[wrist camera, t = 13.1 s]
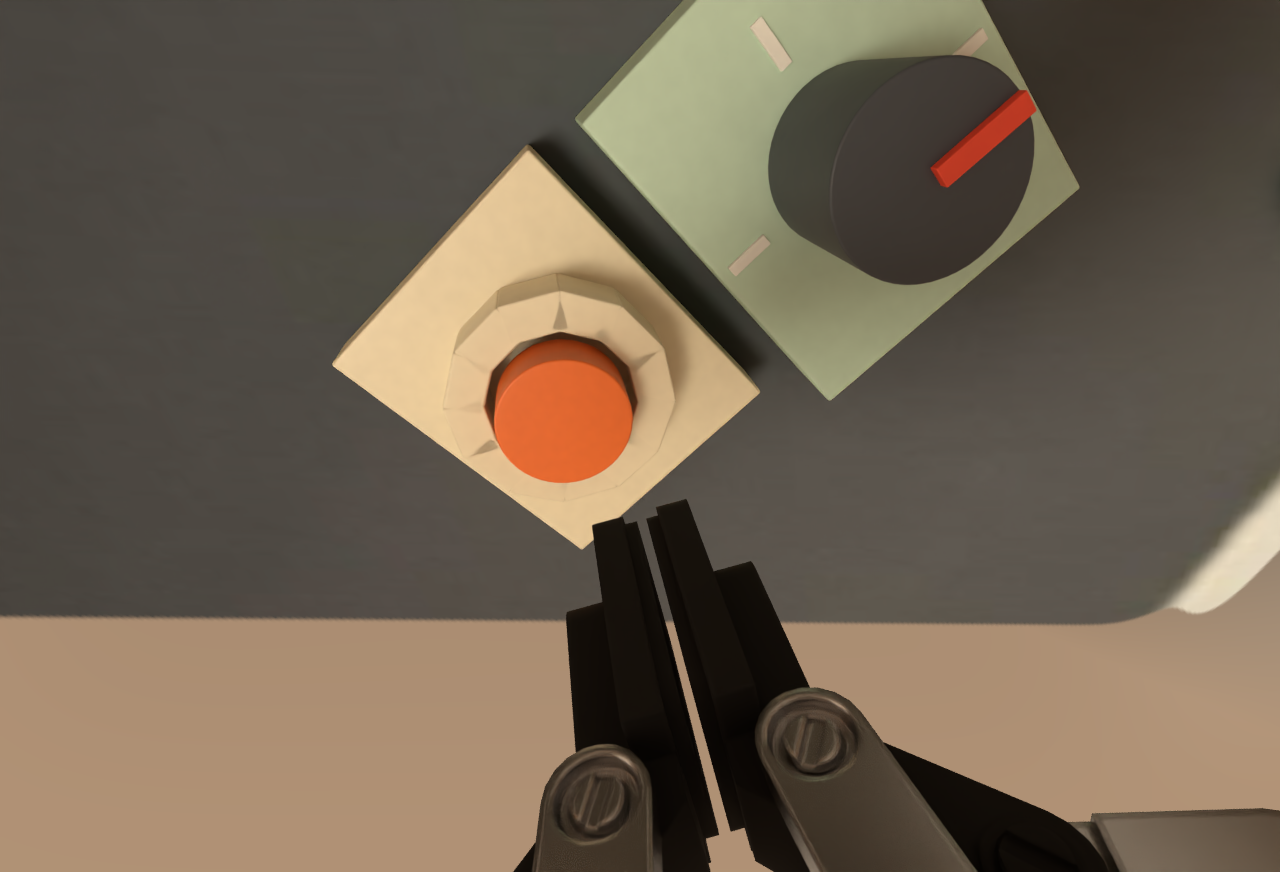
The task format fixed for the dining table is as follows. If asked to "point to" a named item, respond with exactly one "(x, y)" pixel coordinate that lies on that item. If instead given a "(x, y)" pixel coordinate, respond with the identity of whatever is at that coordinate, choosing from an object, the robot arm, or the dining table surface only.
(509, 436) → the button
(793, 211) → the program dial
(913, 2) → the panel
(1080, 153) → the dining table surface
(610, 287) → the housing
